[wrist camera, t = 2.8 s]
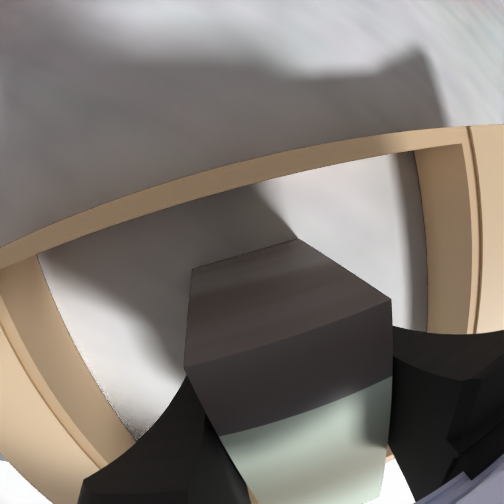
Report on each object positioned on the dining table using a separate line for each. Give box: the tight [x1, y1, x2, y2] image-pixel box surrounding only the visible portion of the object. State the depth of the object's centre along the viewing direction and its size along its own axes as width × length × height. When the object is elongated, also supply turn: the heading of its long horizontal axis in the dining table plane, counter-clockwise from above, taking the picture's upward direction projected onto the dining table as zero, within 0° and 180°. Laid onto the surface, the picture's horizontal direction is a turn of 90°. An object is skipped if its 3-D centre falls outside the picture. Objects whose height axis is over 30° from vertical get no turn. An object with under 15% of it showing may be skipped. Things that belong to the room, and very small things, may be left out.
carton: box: [0, 124, 504, 504], centre depth 10 cm, size 15×25×4 cm, turn 104°
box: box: [184, 239, 393, 504], centre depth 9 cm, size 9×4×6 cm, turn 14°
